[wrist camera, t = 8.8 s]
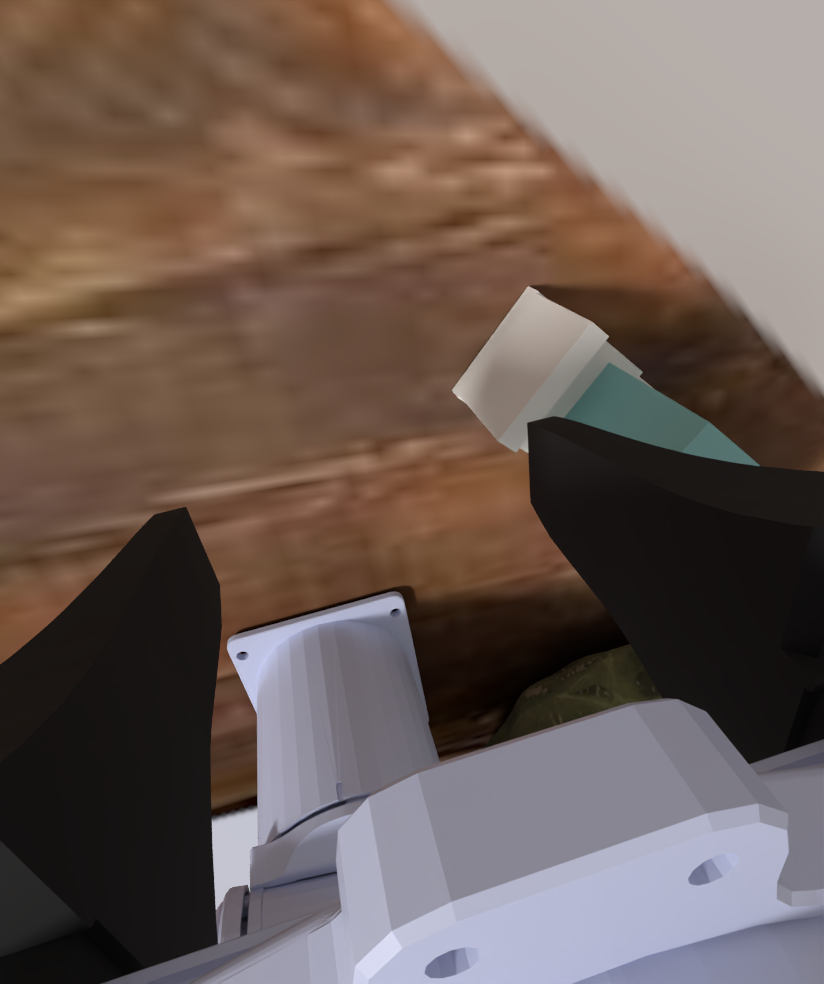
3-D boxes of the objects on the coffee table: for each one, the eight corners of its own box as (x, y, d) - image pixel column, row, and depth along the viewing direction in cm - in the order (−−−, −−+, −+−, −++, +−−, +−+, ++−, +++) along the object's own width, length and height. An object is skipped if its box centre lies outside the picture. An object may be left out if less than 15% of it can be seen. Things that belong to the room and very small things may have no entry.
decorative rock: (654, 728, 40) (763, 885, 33) (440, 793, 36) (508, 989, 29) (729, 573, 32) (903, 737, 24) (459, 635, 27) (564, 857, 20)
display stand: (715, 442, 26) (797, 495, 22) (645, 518, 28) (712, 580, 24) (528, 286, 21) (594, 318, 17) (451, 390, 22) (496, 443, 18)
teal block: (749, 478, 23) (858, 550, 19) (687, 542, 24) (777, 624, 20) (609, 362, 19) (709, 422, 15) (541, 445, 20) (617, 523, 16)
